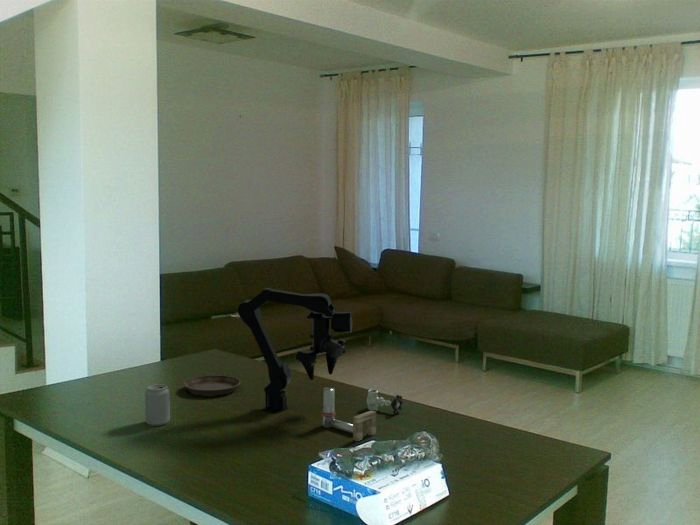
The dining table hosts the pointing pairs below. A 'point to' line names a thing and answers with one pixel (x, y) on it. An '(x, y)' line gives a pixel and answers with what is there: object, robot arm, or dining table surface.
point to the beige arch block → (358, 424)
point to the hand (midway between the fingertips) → (321, 377)
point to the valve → (383, 401)
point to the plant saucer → (211, 385)
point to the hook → (332, 411)
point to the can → (157, 405)
